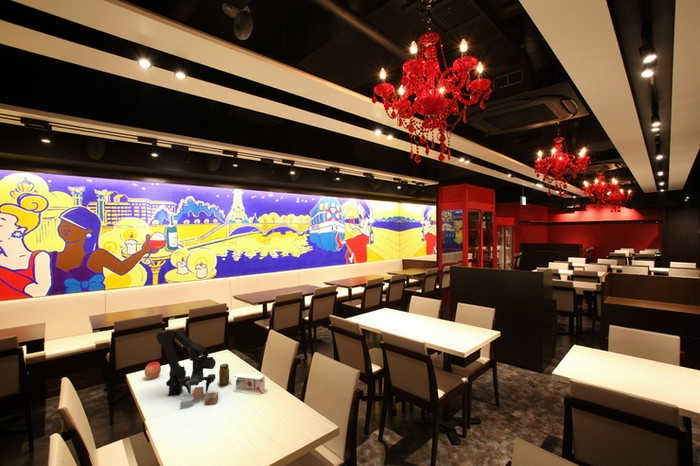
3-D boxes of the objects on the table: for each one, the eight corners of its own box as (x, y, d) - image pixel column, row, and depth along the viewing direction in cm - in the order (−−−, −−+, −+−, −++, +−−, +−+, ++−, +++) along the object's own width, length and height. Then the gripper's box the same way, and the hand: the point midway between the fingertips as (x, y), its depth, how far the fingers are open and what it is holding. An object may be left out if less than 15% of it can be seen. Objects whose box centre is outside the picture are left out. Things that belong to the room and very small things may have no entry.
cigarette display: (233, 391, 192) (232, 376, 192) (238, 386, 197) (238, 372, 197) (261, 394, 187) (261, 379, 187) (266, 390, 192) (266, 375, 192)
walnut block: (204, 405, 176) (204, 398, 176) (207, 400, 181) (207, 393, 181) (215, 404, 177) (215, 397, 177) (218, 399, 183) (218, 392, 183)
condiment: (228, 380, 207) (227, 362, 207) (232, 384, 200) (232, 366, 200) (216, 383, 202) (216, 365, 202) (220, 388, 196) (220, 369, 196)
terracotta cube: (193, 398, 184) (192, 390, 184) (195, 394, 188) (195, 387, 188) (201, 397, 184) (201, 390, 185) (203, 393, 189) (203, 386, 189)
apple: (145, 376, 214) (145, 361, 214) (161, 373, 218) (161, 359, 218) (143, 382, 205) (143, 367, 206) (160, 379, 209) (159, 364, 210)
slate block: (180, 409, 172) (180, 402, 172) (181, 404, 177) (181, 397, 177) (192, 406, 175) (192, 399, 175) (192, 401, 180) (192, 395, 180)
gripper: (175, 374, 177) (176, 402, 177) (210, 372, 180) (210, 398, 180) (183, 366, 188) (183, 392, 188) (215, 364, 191) (215, 389, 191)
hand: (198, 393), depth 186 cm, fingers open, 9 cm apart
